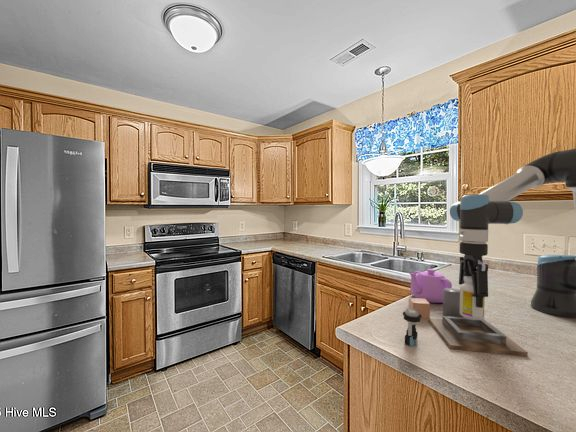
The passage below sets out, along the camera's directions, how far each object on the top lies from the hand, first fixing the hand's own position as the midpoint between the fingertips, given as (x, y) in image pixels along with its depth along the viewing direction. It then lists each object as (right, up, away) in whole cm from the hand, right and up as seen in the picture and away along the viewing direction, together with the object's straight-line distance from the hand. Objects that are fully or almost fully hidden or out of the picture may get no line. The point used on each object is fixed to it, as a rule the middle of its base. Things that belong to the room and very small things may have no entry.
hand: (471, 312), depth 87 cm
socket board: (0, -8, 0) cm, 8 cm away
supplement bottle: (0, -2, 0) cm, 2 cm away
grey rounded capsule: (+4, -8, +17) cm, 19 cm away
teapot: (+4, -7, +36) cm, 37 cm away
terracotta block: (-9, -8, +17) cm, 21 cm away
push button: (-21, -8, -4) cm, 23 cm away
